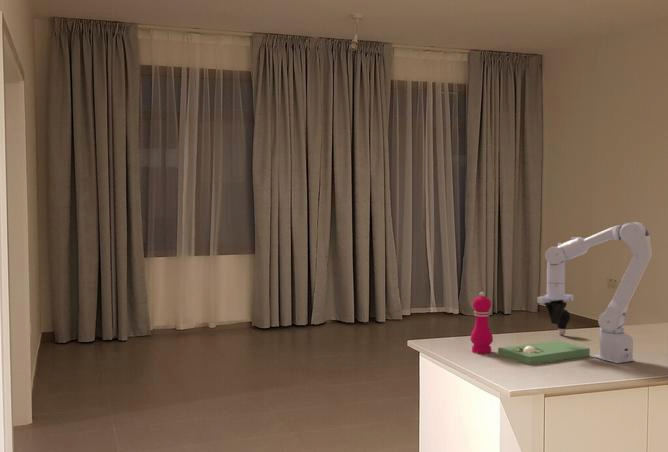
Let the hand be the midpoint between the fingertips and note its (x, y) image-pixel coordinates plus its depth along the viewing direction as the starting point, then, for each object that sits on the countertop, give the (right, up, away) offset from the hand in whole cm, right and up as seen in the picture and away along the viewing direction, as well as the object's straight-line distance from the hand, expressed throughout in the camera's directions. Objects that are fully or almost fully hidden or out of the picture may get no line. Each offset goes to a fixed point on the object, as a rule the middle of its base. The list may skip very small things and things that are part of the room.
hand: (555, 323), depth 222 cm
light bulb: (+11, -9, +27) cm, 30 cm away
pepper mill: (-25, -10, 0) cm, 26 cm away
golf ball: (-12, -8, -10) cm, 17 cm away
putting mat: (-6, -10, -6) cm, 13 cm away
